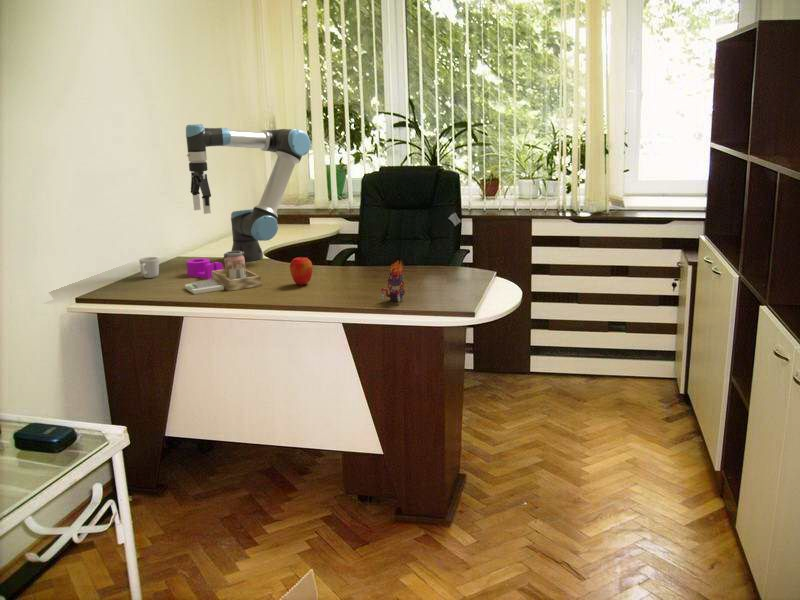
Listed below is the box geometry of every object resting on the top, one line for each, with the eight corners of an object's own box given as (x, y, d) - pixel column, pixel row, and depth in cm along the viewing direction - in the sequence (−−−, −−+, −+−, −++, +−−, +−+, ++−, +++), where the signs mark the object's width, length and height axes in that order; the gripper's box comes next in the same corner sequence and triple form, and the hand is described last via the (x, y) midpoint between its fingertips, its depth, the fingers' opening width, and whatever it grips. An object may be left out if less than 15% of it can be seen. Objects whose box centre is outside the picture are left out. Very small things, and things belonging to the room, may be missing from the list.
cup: (151, 280, 332) (149, 262, 330) (134, 280, 333) (132, 261, 331) (163, 275, 342) (162, 257, 340) (147, 274, 344) (145, 256, 342)
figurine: (377, 303, 286) (376, 263, 283) (386, 297, 295) (385, 258, 291) (399, 305, 283) (398, 264, 280) (408, 299, 292) (407, 259, 288)
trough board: (242, 275, 336) (242, 266, 335) (262, 285, 318) (261, 276, 317) (211, 280, 329) (210, 271, 328) (228, 290, 311) (228, 280, 310)
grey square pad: (210, 282, 320) (210, 279, 320) (217, 285, 313) (216, 283, 313) (191, 284, 316) (191, 282, 316) (197, 288, 309) (197, 286, 309)
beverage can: (223, 279, 326) (221, 251, 323) (243, 277, 329) (241, 249, 326) (228, 284, 318) (225, 255, 315) (248, 281, 321) (246, 253, 318)
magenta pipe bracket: (182, 275, 341) (181, 261, 340) (201, 271, 349) (199, 257, 347) (206, 280, 332) (205, 265, 330) (225, 275, 339) (223, 261, 338)
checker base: (214, 284, 323) (213, 279, 323) (223, 289, 313) (223, 285, 313) (185, 288, 317) (184, 283, 317) (194, 294, 307) (193, 289, 307)
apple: (298, 288, 312) (296, 258, 309) (286, 284, 319) (284, 255, 316) (317, 284, 318) (316, 255, 315) (306, 280, 325) (304, 252, 322)
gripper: (180, 160, 342) (185, 209, 347) (198, 164, 321) (202, 215, 326) (197, 159, 345) (201, 207, 351) (216, 162, 325) (220, 214, 330)
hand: (202, 211), depth 339 cm, fingers open, 13 cm apart
